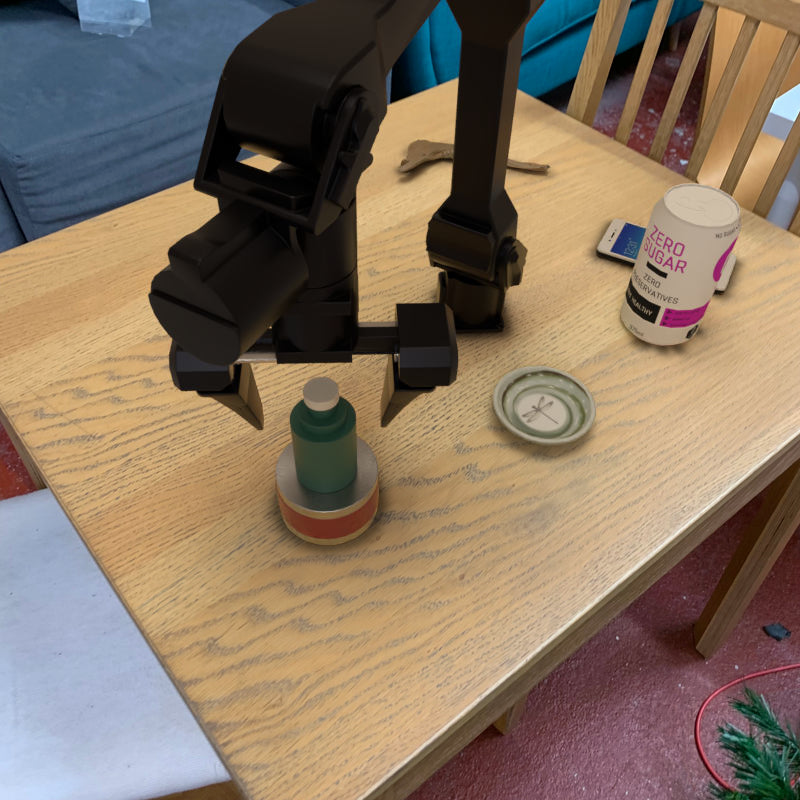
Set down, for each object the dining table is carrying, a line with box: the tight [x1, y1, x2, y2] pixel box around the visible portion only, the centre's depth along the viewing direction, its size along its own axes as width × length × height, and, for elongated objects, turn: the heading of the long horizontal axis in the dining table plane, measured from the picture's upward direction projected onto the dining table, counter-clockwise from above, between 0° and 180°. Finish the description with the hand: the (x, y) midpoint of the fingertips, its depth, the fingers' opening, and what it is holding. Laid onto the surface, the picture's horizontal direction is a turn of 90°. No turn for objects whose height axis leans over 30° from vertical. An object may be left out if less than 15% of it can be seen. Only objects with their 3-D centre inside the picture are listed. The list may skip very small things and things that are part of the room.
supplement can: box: [619, 182, 742, 346], centre depth 77 cm, size 8×8×15 cm
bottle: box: [289, 376, 358, 493], centre depth 59 cm, size 5×5×10 cm
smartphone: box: [595, 218, 737, 295], centre depth 89 cm, size 8×1×15 cm
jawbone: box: [396, 139, 551, 173], centre depth 102 cm, size 9×20×2 cm, turn 98°
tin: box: [274, 435, 380, 546], centre depth 64 cm, size 8×8×5 cm
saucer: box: [491, 365, 597, 446], centre depth 72 cm, size 10×10×2 cm
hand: (322, 424), depth 58 cm, fingers open, 9 cm apart
